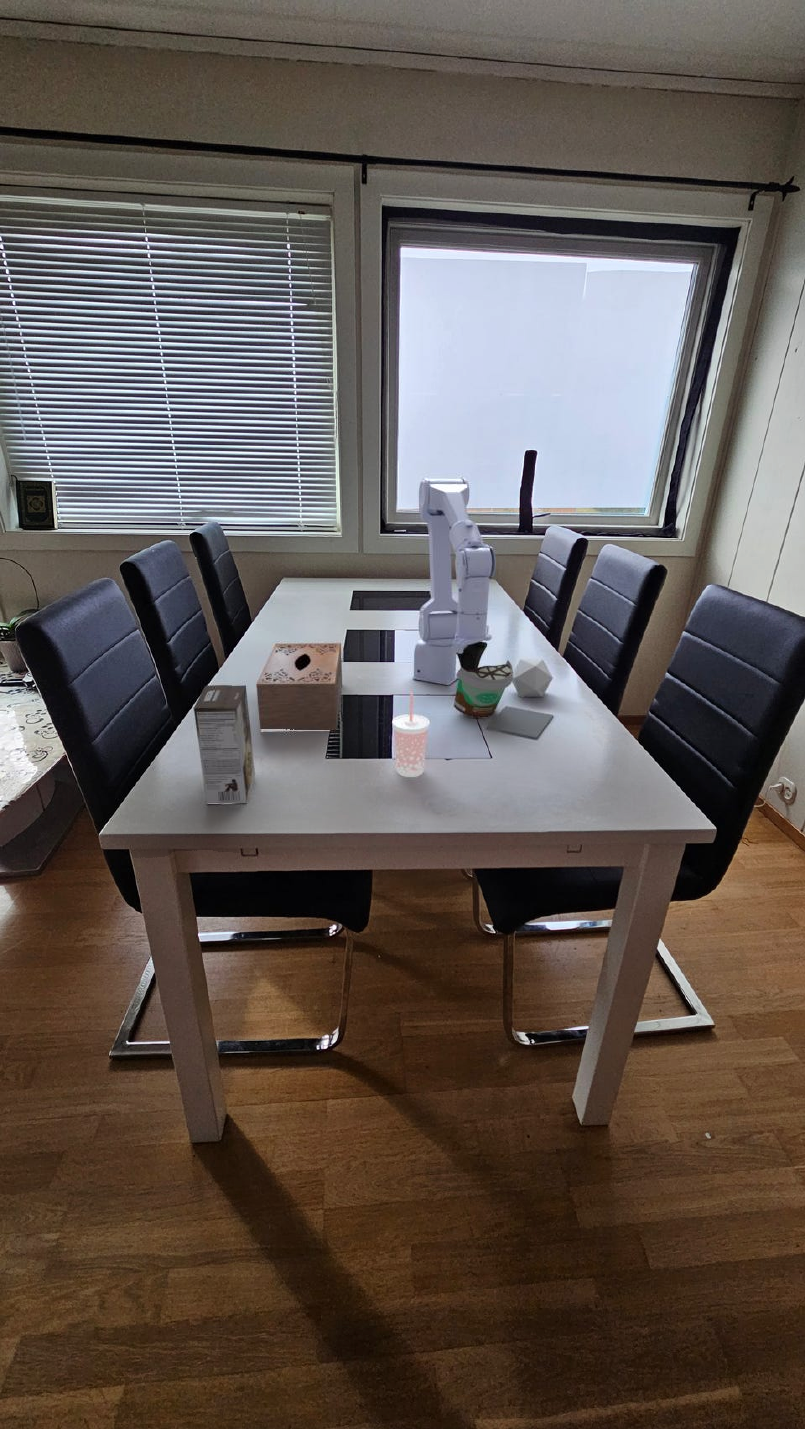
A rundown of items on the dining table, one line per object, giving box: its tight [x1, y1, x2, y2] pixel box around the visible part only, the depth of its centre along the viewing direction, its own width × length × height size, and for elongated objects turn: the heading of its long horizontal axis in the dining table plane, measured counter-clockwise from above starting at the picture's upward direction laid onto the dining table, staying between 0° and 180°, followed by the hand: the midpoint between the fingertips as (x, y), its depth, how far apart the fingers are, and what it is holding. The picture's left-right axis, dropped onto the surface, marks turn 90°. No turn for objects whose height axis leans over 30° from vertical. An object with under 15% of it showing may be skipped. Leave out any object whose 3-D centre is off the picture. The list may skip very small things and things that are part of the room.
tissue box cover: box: [255, 642, 343, 731], centre depth 128 cm, size 26×14×10 cm, turn 3°
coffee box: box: [193, 684, 256, 804], centre depth 94 cm, size 9×6×16 cm
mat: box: [485, 705, 554, 740], centre depth 122 cm, size 10×12×1 cm
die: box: [511, 658, 554, 698], centre depth 135 cm, size 8×9×10 cm
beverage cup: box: [391, 692, 431, 778], centre depth 101 cm, size 6×6×14 cm
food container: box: [453, 659, 514, 719], centre depth 123 cm, size 12×6×10 cm, turn 118°
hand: (468, 678), depth 124 cm, fingers closed
